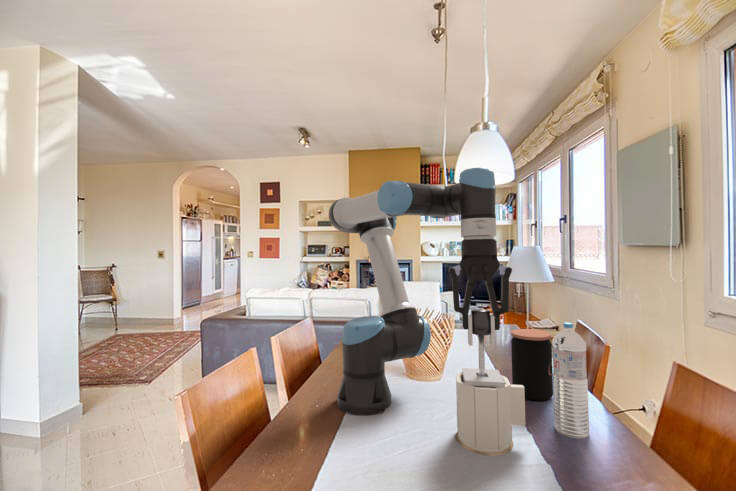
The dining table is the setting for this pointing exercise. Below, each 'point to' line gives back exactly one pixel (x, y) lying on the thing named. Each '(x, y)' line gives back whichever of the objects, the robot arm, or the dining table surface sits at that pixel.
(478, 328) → the plunger
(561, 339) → the water bottle
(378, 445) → the dining table surface
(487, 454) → the cork trivet
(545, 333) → the coffee jar
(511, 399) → the press carafe
